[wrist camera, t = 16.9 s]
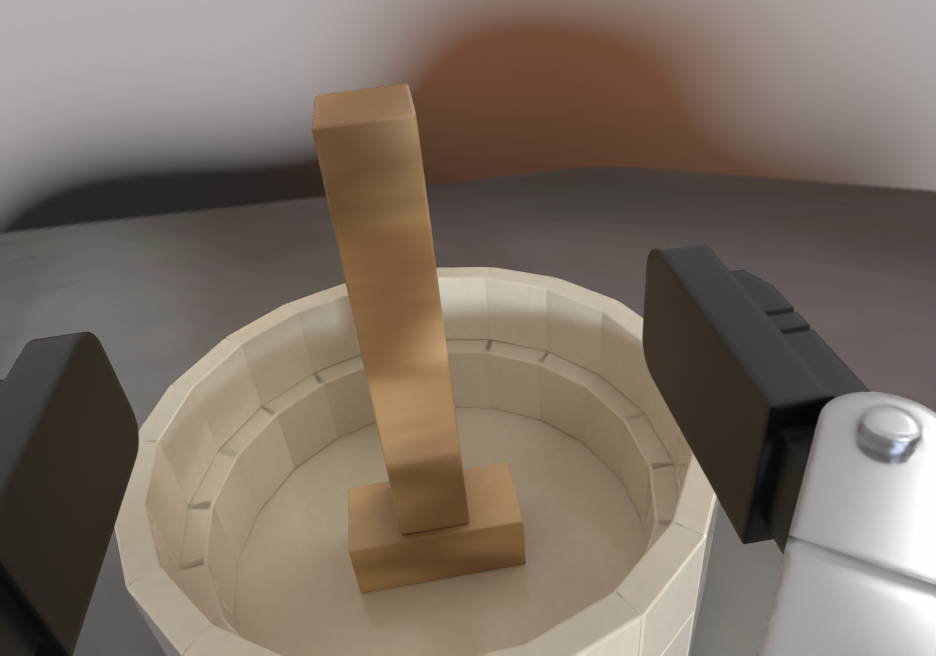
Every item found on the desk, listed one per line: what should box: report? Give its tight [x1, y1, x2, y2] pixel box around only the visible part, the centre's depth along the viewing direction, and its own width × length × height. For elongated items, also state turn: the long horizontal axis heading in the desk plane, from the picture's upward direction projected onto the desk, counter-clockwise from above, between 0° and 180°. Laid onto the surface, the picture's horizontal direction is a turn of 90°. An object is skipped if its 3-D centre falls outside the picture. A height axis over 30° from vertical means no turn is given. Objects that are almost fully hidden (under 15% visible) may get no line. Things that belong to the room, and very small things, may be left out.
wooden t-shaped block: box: [312, 84, 526, 593], centre depth 19 cm, size 5×2×14 cm, turn 99°
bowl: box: [114, 267, 719, 656], centre depth 22 cm, size 16×16×6 cm
